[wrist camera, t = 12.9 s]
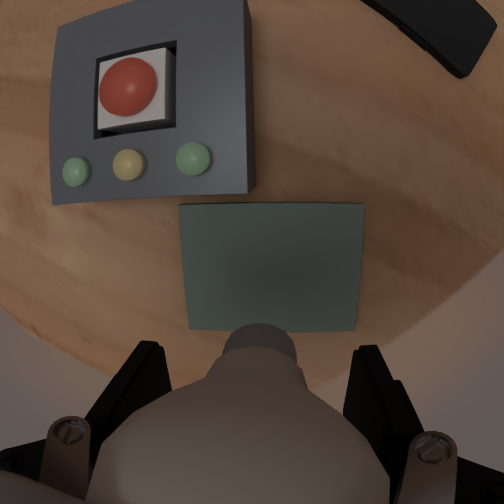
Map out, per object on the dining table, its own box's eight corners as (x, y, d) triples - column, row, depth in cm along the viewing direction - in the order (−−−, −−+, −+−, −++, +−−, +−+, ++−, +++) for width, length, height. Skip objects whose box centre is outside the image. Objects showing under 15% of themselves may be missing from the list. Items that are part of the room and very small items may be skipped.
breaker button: (182, 63, 16) (161, 43, 13) (182, 125, 17) (160, 116, 14) (123, 74, 16) (94, 60, 13) (122, 132, 18) (91, 128, 14)
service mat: (362, 203, 20) (364, 204, 19) (352, 326, 22) (354, 330, 22) (181, 204, 21) (178, 205, 20) (191, 324, 23) (189, 328, 23)
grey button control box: (251, 18, 17) (241, -25, 11) (255, 186, 20) (245, 195, 15) (95, 46, 18) (51, 24, 12) (93, 195, 21) (44, 207, 16)
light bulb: (363, 370, 12) (427, 615, 2) (231, 417, 14) (184, 631, 3) (301, 235, 11) (379, 629, 1) (152, 307, 12) (-22, 532, 2)
